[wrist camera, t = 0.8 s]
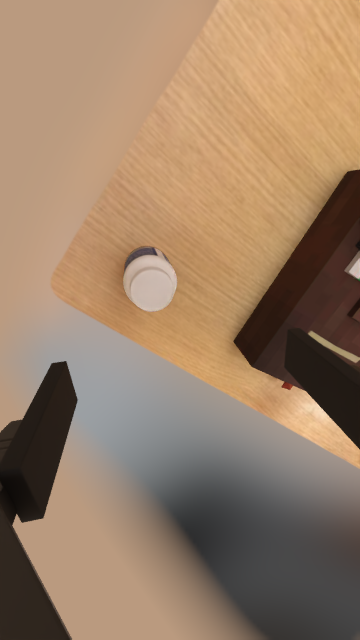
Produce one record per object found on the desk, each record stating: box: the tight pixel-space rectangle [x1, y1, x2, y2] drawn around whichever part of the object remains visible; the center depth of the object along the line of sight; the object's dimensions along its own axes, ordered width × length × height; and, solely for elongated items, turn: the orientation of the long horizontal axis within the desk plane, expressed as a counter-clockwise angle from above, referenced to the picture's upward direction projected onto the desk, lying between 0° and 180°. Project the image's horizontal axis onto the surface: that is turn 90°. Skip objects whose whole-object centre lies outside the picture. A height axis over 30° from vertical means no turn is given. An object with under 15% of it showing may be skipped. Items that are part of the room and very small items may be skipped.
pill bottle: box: [123, 246, 177, 312], centre depth 28 cm, size 5×5×10 cm
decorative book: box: [233, 170, 360, 390], centre depth 35 cm, size 19×8×30 cm
